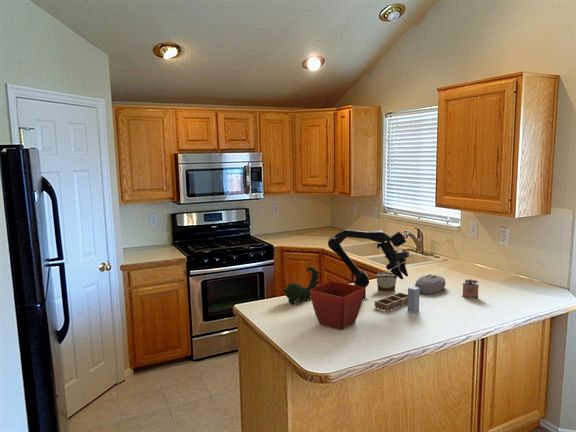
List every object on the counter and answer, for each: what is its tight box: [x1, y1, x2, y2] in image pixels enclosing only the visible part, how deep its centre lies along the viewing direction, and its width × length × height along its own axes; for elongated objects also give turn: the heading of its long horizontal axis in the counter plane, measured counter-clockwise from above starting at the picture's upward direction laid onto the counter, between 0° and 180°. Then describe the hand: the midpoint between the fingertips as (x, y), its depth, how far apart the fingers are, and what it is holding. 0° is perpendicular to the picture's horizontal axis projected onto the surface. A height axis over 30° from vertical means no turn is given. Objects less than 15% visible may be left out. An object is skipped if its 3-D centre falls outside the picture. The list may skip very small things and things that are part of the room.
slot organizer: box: [374, 292, 408, 312], centre depth 219 cm, size 21×8×4 cm, turn 130°
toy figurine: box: [282, 266, 320, 304], centre depth 228 cm, size 9×19×25 cm
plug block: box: [407, 285, 420, 314], centre depth 209 cm, size 4×4×12 cm
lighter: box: [461, 278, 480, 300], centre depth 228 cm, size 8×3×10 cm, turn 62°
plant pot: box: [310, 280, 366, 330], centre depth 196 cm, size 19×19×17 cm
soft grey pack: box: [414, 274, 446, 295], centre depth 242 cm, size 15×8×20 cm
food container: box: [375, 271, 398, 291], centre depth 243 cm, size 12×6×10 cm, turn 84°
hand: (405, 277), depth 220 cm, fingers open, 9 cm apart
